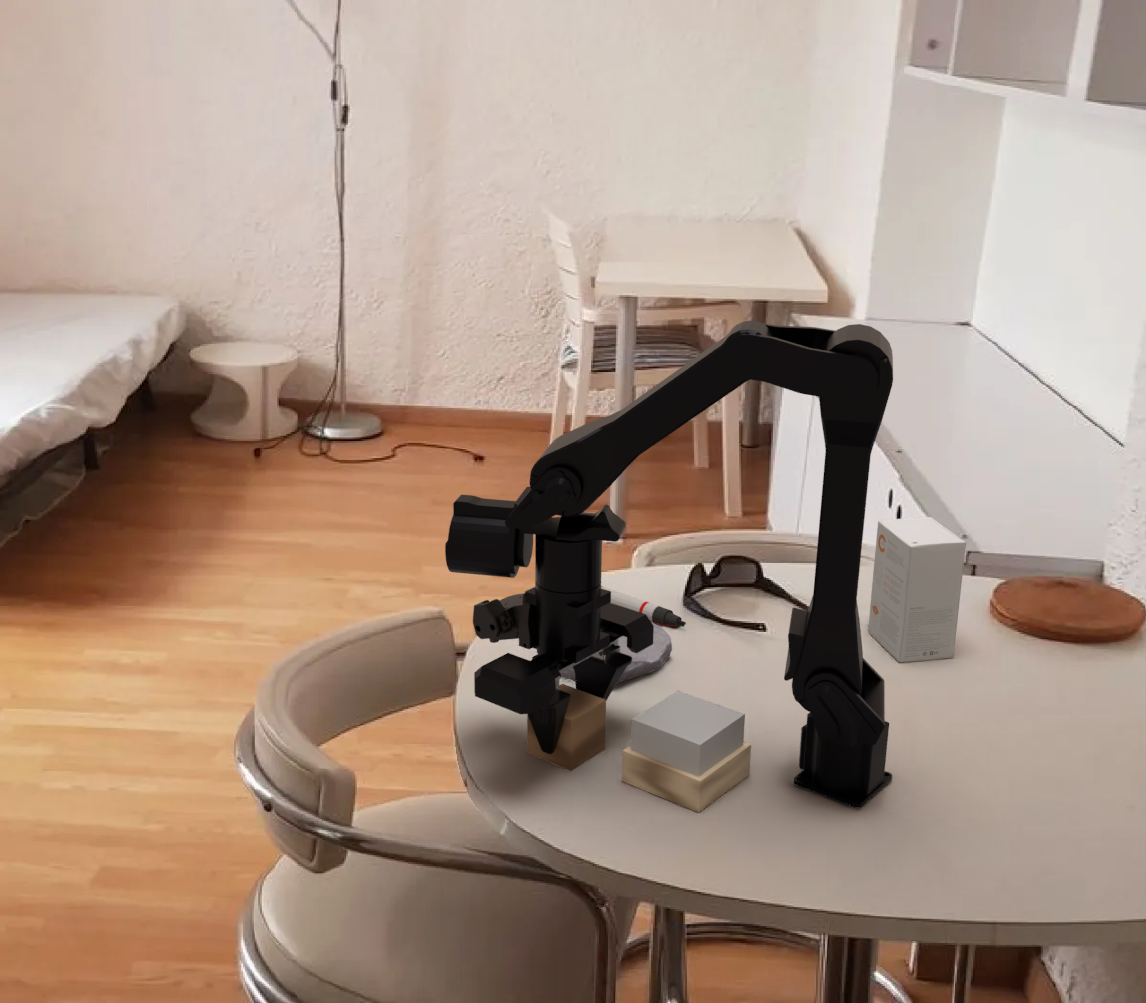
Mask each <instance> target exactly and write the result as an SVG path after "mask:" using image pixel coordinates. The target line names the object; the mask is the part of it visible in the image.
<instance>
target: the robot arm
mask: <svg viewBox="0 0 1146 1003" xmlns="http://www.w3.org/2000/svg"><path fill="white" fill-rule="evenodd" d="M893 355H894V354H893V349H892V347H891V343H890V341H889V340H888V339H887V338H886V337H885V335H884V334H883V333H882V332H881V331H879V330H878V329H876V328H874V327H873V326H871V325H866V324H861V323H858V324H857V323H856V324H847V325H845V326H843V327H841V328H838V329H836V330H833V329H828V328H824V327H823V328H821V327H816V326H814V327H813V326H799V325H798V326H796V325H775V324H770V323H762V322H761V321H755V320H743V321H742V322H739V323H738V324H735V325H734V326H733V327H732V328H731V329H730V331H729V332H728V333H727V334H726V335H725V336H724V337H722V338H721V339H720V340H718V341H716V342H715V343H714V344H713V345H711V346H710V347H707V349H706V350H704V351H702V352H701V353H700V354H698V355H696V357H694V358H693V359H691V360H690V361H689V362H686V363H685V364H684V365H683V366H682V367H680V368H678V369H677V370H676V371H674V372H673V373H671V374H670V375H668V376H667V377H666V378H664V379H663V380H661V381H660V382H658V383H657V384H655V385H654V386H653V387H652V388H650V389H648V391H646V392H645V393H643V394H641V396H639V397H637V398H635V399H634V400H633V401H632V402H630V403H629V404H628V405H626V406H625V407H623V408H622V409H620V410H618V411H616V412H613V413H612V414H609V415H607V416H603V417H602V418H598V419H595V420H592V421H590V422H589V421H588V423H587V422H586V423H585V424H583V425H581V426H578V427H577V428H574V429H572V430H569V431H568V432H566V433H564V434H561V435H559V436H558V437H556V438H555V439H554V440H552V442H551V443H550V444H549V445H548V447H547V448H546V449H545V450H544V451H543V453H542V454H541V456H539V458H538V459H537V460H536V461H535V463H534V465H533V466H532V468H531V470H530V474H529V486H526V487H525V489H524V490H523V491H522V493H521V494H520V495H519V496H518V497H517V499H516V500H507V499H506V500H505V499H494V498H484V497H479V496H476V495H473V494H472V495H471V494H460V495H459V496H458V497H457V498H456V500H455V501H454V502H453V504H452V506H453V510H452V511H453V512H452V517H451V520H450V525H449V528H448V536H447V541H446V542H445V545H444V555H445V562H446V567H447V570H448V571H449V572H451V573H456V574H468V575H479V576H490V577H499V578H500V577H501V578H511V579H512V578H513V579H514V578H515V577H516V576H517V574H518V573H519V570H520V568H528V567H529V566H530V563H531V560H532V556H533V549H534V548H535V553H534V554H535V555H534V557H535V559H534V561H535V562H534V563H535V564H534V570H535V572H534V573H535V575H534V577H535V578H534V579H535V580H534V582H535V583H534V587H532V588H530V589H528V590H526V591H524V593H517V594H512V595H509V596H506V597H504V598H502V599H498V598H494V599H493V600H491V601H489V599H485V600H483V601H481V602H479V603H477V604H474V605H473V612H472V613H473V614H472V626H473V629H474V632H475V635H476V636H477V637H478V638H479V639H481V640H486V639H487V640H488V639H489V642H490V643H493V644H494V643H495V644H496V643H499V642H500V641H506V640H516V639H517V640H518V646H519V647H521V648H524V649H527V650H531V649H535V650H536V654H535V655H533V656H532V657H531V659H526V658H523V657H520V656H518V655H515V654H512V653H510V652H506V653H504V654H503V655H501V656H499V657H497V658H495V659H493V660H492V661H489V662H487V663H486V664H483V665H482V666H480V667H479V668H478V669H476V671H474V673H473V674H474V675H473V677H474V678H473V682H474V684H473V685H474V686H473V687H474V690H473V692H474V697H477V698H479V699H481V700H483V701H486V702H489V703H491V704H494V705H496V706H499V707H502V708H504V709H506V710H508V711H512V712H513V713H516V714H519V715H528V717H529V720H530V722H531V725H532V727H533V730H534V732H535V735H536V738H537V740H538V743H539V745H540V748H541V750H542V751H543V752H545V753H547V754H552V753H553V752H554V750H555V747H556V744H557V742H558V739H559V735H560V732H561V728H562V724H563V721H564V717H565V714H566V711H567V707H568V704H569V700H570V697H571V694H569V693H566V692H564V691H561V690H559V685H560V680H561V678H562V677H561V673H562V672H564V671H565V670H567V669H569V668H571V667H573V669H574V671H575V680H574V682H575V689H578V690H581V691H584V692H586V693H589V694H592V695H594V696H597V697H600V698H602V699H605V700H606V702H607V700H608V699H609V698H610V696H611V694H612V692H613V690H614V688H615V687H616V685H617V684H618V683H617V682H618V680H619V679H620V677H621V675H622V674H623V672H624V671H625V669H626V667H627V666H628V665H630V664H631V662H632V657H631V656H629V655H626V654H623V653H620V646H618V638H620V637H622V636H625V637H627V647H628V648H629V649H630V651H631V652H634V653H638V652H640V651H642V650H644V649H645V648H647V647H649V646H651V645H653V632H654V626H653V624H652V623H653V622H652V623H651V621H650V620H649V618H648V617H647V615H646V614H643V613H640V612H637V611H634V610H631V609H628V608H625V607H621V606H618V605H615V604H612V603H610V602H611V591H608V590H605V589H602V588H601V586H602V562H603V561H602V560H603V558H602V557H603V556H602V555H603V542H618V541H619V540H620V538H621V536H622V535H623V533H624V530H625V528H626V526H627V523H626V521H625V520H623V519H622V518H621V517H620V516H618V515H617V514H616V513H615V512H613V510H612V509H611V507H610V505H608V504H604V505H603V507H602V508H600V509H599V510H598V511H596V512H585V511H586V510H588V509H589V508H590V507H591V506H592V505H593V504H594V503H595V502H596V501H597V500H598V499H599V498H600V497H601V496H602V495H603V494H604V493H605V492H606V491H607V490H608V489H609V488H610V486H612V485H613V483H615V481H616V480H618V478H619V477H620V476H621V475H622V474H623V473H624V471H625V470H626V469H628V467H629V466H630V465H631V464H632V463H633V462H634V461H635V460H636V459H637V458H638V457H639V456H640V455H642V454H643V453H644V452H646V451H648V450H650V449H651V448H652V447H653V446H655V445H656V444H658V443H660V442H661V441H662V440H663V439H666V438H667V437H668V436H670V434H673V433H674V432H676V431H677V430H678V429H680V428H681V427H683V426H684V425H686V424H687V423H688V422H690V421H692V420H693V419H694V418H696V417H697V416H698V415H700V414H701V413H703V412H704V411H706V410H708V409H709V408H711V406H713V405H714V404H716V403H717V402H719V401H720V400H722V399H723V398H725V397H726V396H728V395H729V394H731V393H732V392H733V391H735V390H736V389H738V388H739V387H740V386H742V385H744V384H745V383H746V382H748V381H750V380H751V381H757V382H765V383H766V384H770V385H773V386H775V387H776V386H777V387H779V388H783V389H786V390H788V391H791V392H794V393H797V394H802V395H808V396H814V397H818V401H819V402H818V403H819V410H820V420H821V426H822V433H823V441H824V447H825V453H824V454H825V455H824V463H823V464H824V467H823V475H822V476H823V477H822V488H821V501H820V515H819V522H818V525H819V526H818V534H817V535H818V538H817V546H816V548H817V549H816V559H815V570H814V571H815V572H814V583H813V594H812V597H811V600H810V603H809V605H808V606H809V607H808V609H807V610H804V609H801V608H797V607H792V609H791V614H790V621H789V627H788V634H787V639H788V640H787V641H788V649H787V655H786V656H787V657H786V662H785V670H784V675H783V680H784V681H789V680H792V681H791V691H792V696H793V698H794V700H795V701H796V703H798V704H799V705H800V706H801V707H802V708H803V709H804V710H806V711H807V712H808V713H807V716H806V724H804V726H802V727H801V729H800V732H801V733H800V744H799V756H798V757H799V758H798V768H799V769H800V770H802V771H800V772H799V773H798V774H797V775H795V776H794V777H793V785H795V786H797V787H799V788H803V789H805V790H807V791H810V792H813V793H815V794H817V795H820V796H823V797H826V798H829V799H831V800H833V801H836V802H839V803H842V804H844V805H846V806H850V807H852V808H856V809H858V808H859V809H860V808H862V807H864V806H865V804H867V803H868V802H869V801H870V800H872V798H874V797H875V796H876V795H877V794H878V793H880V791H881V790H882V789H884V787H886V786H888V784H889V783H890V782H891V781H892V780H893V774H892V773H891V772H889V771H886V761H887V750H888V740H889V730H890V722H888V721H887V720H885V715H886V713H885V712H886V711H885V709H886V708H885V707H886V706H885V693H886V692H885V684H886V683H885V680H884V678H883V677H882V676H881V675H880V674H879V673H878V671H876V670H875V668H874V667H872V665H871V664H870V663H869V662H868V661H867V660H866V659H865V657H864V656H863V654H864V653H863V644H862V643H863V641H862V631H861V621H860V615H859V607H858V599H857V597H858V589H859V588H858V587H859V579H860V578H859V577H860V569H861V568H860V567H861V557H862V549H863V548H862V546H863V539H864V537H863V536H864V525H865V518H866V517H865V516H866V507H867V497H868V496H867V494H868V484H869V476H870V468H871V467H870V466H871V465H870V464H871V457H872V456H871V455H872V451H873V447H874V445H875V441H876V439H877V437H878V436H877V435H878V433H879V430H880V428H881V425H882V421H883V419H884V415H885V411H886V408H887V404H888V401H889V399H890V398H889V397H890V395H891V390H892V387H893V383H894V364H893V363H894V360H893V359H894V358H893V357H894V356H893ZM534 535H535V536H534ZM534 537H535V540H534ZM534 542H535V544H534ZM534 545H535V547H534Z"/></svg>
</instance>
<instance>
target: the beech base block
mask: <svg viewBox="0 0 1146 1003" xmlns="http://www.w3.org/2000/svg"><path fill="white" fill-rule="evenodd" d="M751 751H752V744H751V743H748V742H745V741H743V745H742V746H741V747H740V748H738V749H737V750H735V751H734V752H733V753H731V754H730V755H728V756H727V757H726V758H724V759H723V760H721V761H720V762H719V763H717V764H716V765H715V766H713V767H712V768H710V769H709V770H708V771H706V772H705V773H703V774H702V775H701V776H699V777H698V776H695V775H693V774H690V773H688V772H685V771H683V770H680V769H677V768H675V767H672V766H670V765H667V764H665V763H662V762H660V761H657V760H655V759H652V758H649V757H647V756H644V755H642V754H639V753H637V752H634V751H632V750H631V745H629V746H628V747H625V748H624V749H622V759H621V760H622V766H621V769H622V770H621V781H622V782H623V783H625V784H627V785H630V786H633V787H635V788H638V789H641V790H642V791H644V792H647V793H650V794H651V795H652V794H653V795H655V796H657V797H660V798H662V799H665V800H666V801H670V802H672V803H675V804H676V805H679V806H681V807H683V808H686V809H689V810H692V811H693V812H697V813H700V811H701V812H703V810H705V809H706V808H707V807H708V806H710V805H711V804H712V802H713V803H714V802H715V801H716V800H718V799H719V798H721V797H720V796H723V795H725V794H726V793H727V792H729V791H730V790H731V789H732V788H734V787H735V786H737V785H738V784H739V783H741V782H742V781H744V780H745V779H747V777H749V776H750V772H751V771H750V770H751V757H752V756H751V754H752V752H751ZM725 792H726V793H725ZM704 808H705V809H704Z"/></svg>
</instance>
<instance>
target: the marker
mask: <svg viewBox="0 0 1146 1003" xmlns="http://www.w3.org/2000/svg"><path fill="white" fill-rule="evenodd" d="M601 588H602V589H605V590H608V591H611V602H610V603H612V604H615V605H618V606H621V607H625V608H628V609H631V610H634V611H637V612H640V613H643V614H646V615H647V617H648V618H649V620H650V621H651V622H652V623H654V624H657V623H658V624H657V625H659V624H660V625H659V626H661V627H666V626H670V627H674V628H679V627H682V628H683V627H685V625H686V624H687V622H686V621H684V620H682V617H681V616H678V615H676V614H675V613H674V612H673V610H671V609H669V608H665V607H662V606H660V605H658V604H655V603H653V602H648V601H646V600H645V599H644V600H643V599H640V598H637V597H635V596H631V595H629V594H626V593H623V592H621V591H617V590H615V589H612V588H609V587H606V586H602V585H601ZM665 625H666V626H665Z"/></svg>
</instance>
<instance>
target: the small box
mask: <svg viewBox="0 0 1146 1003" xmlns="http://www.w3.org/2000/svg"><path fill="white" fill-rule="evenodd" d="M876 530H877V532H876V539H875V540H876V542H875V553H874V563H873V571H872V572H873V573H872V582H871V583H872V585H871V595H870V596H871V597H870V606H869V608H870V609H869V617H868V624H867V626H868V627H867V633H869V635H871V636H872V637H873V638H874V639H875V640H876V641H877V642H878V643H879V644H880V645H881V646H882V647H883V648H884V649H885V650H886V651H887V652H888V653H889V654H891V656H892V657H893V658H894V659H896V661H897V662H898V663H910V662H920V661H932V660H941V659H950V658H954V656H955V648H956V642H957V641H956V640H957V639H956V637H957V628H958V621H959V620H958V618H959V610H960V601H961V592H962V591H961V590H962V585H963V584H962V582H963V574H964V573H963V572H964V564H965V562H964V561H965V554H966V544H967V542H966V541H965V540H963V539H962V538H960V537H959V536H958V535H956V534H955V533H954V532H952V531H951V530H949V529H948V528H946V527H945V525H942V524H941V523H940V522H938V521H937V520H935V519H934V518H933V517H932V516H927V517H926V516H925V517H911V518H894V519H893V518H891V519H890V518H889V519H879V520H878V521H877V529H876Z"/></svg>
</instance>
